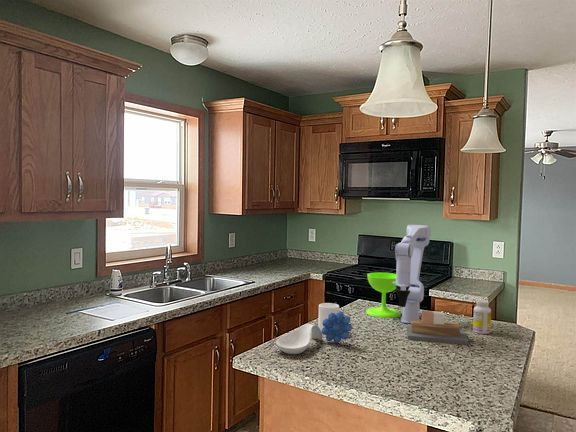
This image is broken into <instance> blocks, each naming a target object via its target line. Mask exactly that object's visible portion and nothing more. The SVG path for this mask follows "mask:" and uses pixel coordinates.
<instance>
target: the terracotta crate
mask: <svg viewBox="0 0 576 432" xmlns="http://www.w3.org/2000/svg"><path fill="white" fill-rule="evenodd" d="M433 316H434V314H433V311H432V310H421V320H422V323H427V324H433Z"/></svg>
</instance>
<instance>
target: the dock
mask: <svg viewBox="0 0 576 432" xmlns="http://www.w3.org/2000/svg"><path fill="white" fill-rule="evenodd" d="M406 335H407V336H406V337H407V340H410V341H419V342H420V341H422V342H434V343H444V344H457V345H467V346H468V345H469V339H468V338H467V337H468V336H466V333H465V332H464V330H463V329H460V337H459V336H446V335H434V334H422V333H411V325H406Z"/></svg>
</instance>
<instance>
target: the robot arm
mask: <svg viewBox="0 0 576 432" xmlns="http://www.w3.org/2000/svg"><path fill="white" fill-rule="evenodd" d="M405 233H406V235H405V236H404V237H403V238H402V239H401V242H398V243H396V244H395V247H394V254H395V261H396V268H395V269H396V270H395V271H396V272H395V274H396V282H393V284H396V285H397V286H396V289H395V292H396V294H397V297H398V304H399V307H400V308H402V309H401V310H402V312H401V313H402V314H401V315H400V322H401V323H402V324H411V319H414V320H421V319H420V304H421V303H422V301H423V300H424V297H425V287H424V284H423V283H422V282H421V281H420V274H421V267H422V262H423V255H424V250H425V247H427V246H429V244H430V240H431V239H430V238H431V227H430V225H428V224H426V225H423V224H422V225H421V224H410V223H409V224H408V225H407V226H406V232H405Z"/></svg>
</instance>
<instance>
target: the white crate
mask: <svg viewBox="0 0 576 432" xmlns="http://www.w3.org/2000/svg"><path fill="white" fill-rule="evenodd" d="M432 312H433V314H434V316H433V324H441V325H444V322H445V317H446V316H445V313H444V312H443V311H434V310H433V311H432Z"/></svg>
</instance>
